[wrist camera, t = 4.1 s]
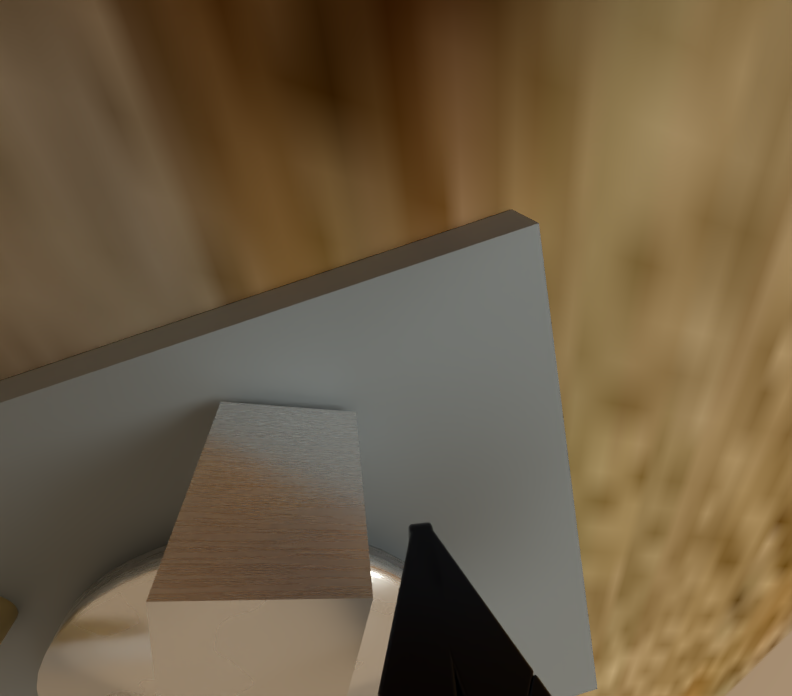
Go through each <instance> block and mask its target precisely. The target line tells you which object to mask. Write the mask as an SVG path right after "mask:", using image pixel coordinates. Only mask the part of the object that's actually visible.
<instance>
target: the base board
mask: <svg viewBox="0 0 792 696" xmlns="http://www.w3.org/2000/svg"><path fill="white" fill-rule="evenodd" d="M221 402H231V403H244V404H258V405H271V406H284V407H298V408H311V409H324V410H338V411H351V412H356V420H357V430H358V441H359V452H360V462H361V473H362V484H363V494H364V505H365V516H366V526H367V537H368V544H369V545H371V546H374V547H377V548H379V549H382V550H384V551H386V552H388V553H390V554H391V555H393V556H395V557H397V558H399V559H401V560H402V561H404V562H405V557H406V553H407V548H408V543H409V533H408V529H409V525H411V524H416V523H425V522H429V523H431V524H432V527H433V531H434V532H435V533H436V535H437V536H438V538H439V539H440V540H441V542H442V543H443V545H444V546H445V547H446V549H447V550H448V552H449V553H450V554H451V556H452V557H453V559H454V560H455V561H456V563H457V564H458V566H459V567H460V568H461V570H462V571H463V573H464V574H465V575H466V577H467V578H468V580H469V581H470V582H471V584H472V585H473V587H474V588H475V589H476V591H477V592H478V594H479V595H480V596H481V598H482V599H483V601H484V602H485V603H486V605H487V606H488V608H489V609H490V610H491V612H492V613H493V615H494V616H495V617H496V619H497V620H498V622H499V623H500V624H501V626H502V627H503V629H504V630H505V631H506V633H507V634H508V636H509V637H510V638H511V640H512V641H513V643H514V644H515V645H516V647H517V648H518V650H519V651H520V652H521V654H522V655H523V657H524V658H525V659H526V661H527V662H528V664H529V665H530V666H531V668H532V669H533V671H534V673H533V675H537V676H538V677H539V679H540V680H541V682H542V683H543V684H544V686H545V687H546V689H547V690H548V691H549V693H550V694H551V696H576V695H579V694H582V693H585V692H588V691H592V690H595V689H597V682H596V674H595V666H594V659H593V651H592V643H591V635H590V627H589V619H588V611H587V603H586V595H585V587H584V579H583V571H582V563H581V555H580V547H579V539H578V531H577V524H576V516H575V508H574V500H573V492H572V484H571V476H570V468H569V460H568V452H567V444H566V436H565V428H564V420H563V412H562V404H561V396H560V389H559V381H558V373H557V365H556V357H555V349H554V341H553V333H552V325H551V317H550V309H549V301H548V293H547V285H546V277H545V269H544V261H543V254H542V246H541V238H540V230H539V223H537V222H535V221H533V220H532V219H530V218H528V217H526V216H524V215H522V214H520V213H518V212H516V211H514V210H509V211H506V212H503V213H500V214H497V215H494V216H491V217H488V218H485V219H482V220H479V221H476V222H473V223H470V224H467V225H464V226H461V227H458V228H455V229H452V230H449V231H446V232H443V233H440V234H437V235H434V236H431V237H428V238H425V239H422V240H419V241H416V242H413V243H411V244H408V245H405V246H402V247H399V248H396V249H393V250H390V251H387V252H384V253H381V254H378V255H375V256H372V257H369V258H366V259H363V260H360V261H357V262H354V263H351V264H348V265H345V266H342V267H339V268H336V269H333V270H330V271H327V272H324V273H321V274H318V275H315V276H312V277H309V278H306V279H303V280H300V281H297V282H294V283H291V284H288V285H285V286H282V287H279V288H276V289H273V290H270V291H267V292H264V293H261V294H258V295H255V296H252V297H249V298H246V299H243V300H240V301H237V302H234V303H231V304H228V305H225V306H222V307H219V308H216V309H213V310H210V311H207V312H204V313H201V314H198V315H195V316H192V317H189V318H186V319H183V320H180V321H178V322H175V323H172V324H169V325H166V326H163V327H160V328H157V329H154V330H151V331H148V332H145V333H142V334H139V335H136V336H133V337H130V338H127V339H124V340H121V341H118V342H115V343H112V344H109V345H106V346H103V347H100V348H97V349H94V350H91V351H88V352H85V353H82V354H79V355H76V356H73V357H70V358H67V359H64V360H61V361H58V362H55V363H52V364H49V365H46V366H43V367H40V368H37V369H34V370H31V371H28V372H25V373H22V374H19V375H16V376H13V377H10V378H7V379H4V380H1V381H0V696H38V693H37V679H38V671H39V669H40V666H41V663H42V661H43V658H44V656H45V654H46V652H47V650H48V648H49V646H50V644H51V642H52V640H53V638H54V636H55V635H56V633H57V631H58V629H59V627H60V625H61V623H62V621H63V619H64V617H65V616H66V614H67V613H68V611H69V610H70V608H71V607H72V605H73V604H74V602H75V601H76V600H77V599H78V598H79V597H80V596H81V595H82V594H83V593H84V592H85V591H86V590H87V589H88V588H89V587H90V586H91V585H92V584H93V583H95V582H96V581H97V580H99V579H100V578H101V577H103V576H104V575H105V574H107V573H108V572H110V571H111V570H113V569H115V568H117V567H118V566H120V565H122V564H124V563H126V562H127V561H129V560H131V559H133V558H135V557H138V556H140V555H142V554H145V553H147V552H150V551H152V550H154V549H157V548H160V547H163V546H166V545H167V544H168V542H169V539H170V536H171V534H172V531H173V528H174V526H175V523H176V520H177V518H178V515H179V512H180V510H181V507H182V504H183V502H184V499H185V496H186V493H187V491H188V488H189V485H190V483H191V480H192V477H193V475H194V472H195V469H196V467H197V464H198V461H199V459H200V456H201V453H202V451H203V448H204V445H205V443H206V440H207V437H208V435H209V432H210V429H211V427H212V424H213V421H214V419H215V416H216V413H217V411H218V408H219V405H220V403H221Z"/></svg>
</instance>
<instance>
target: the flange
mask: <svg viewBox="0 0 792 696" xmlns="http://www.w3.org/2000/svg"><path fill="white" fill-rule="evenodd" d="M403 567H404V561H402V560H401V559H399V558H397V557H395V556H393V555H391V554H390V553H388V552H386V551H384V550H382V549H379V548H377V547H374V546H371V545H369V544H368V537H367V526H366V516H365V505H364V494H363V484H362V473H361V462H360V452H359V441H358V430H357V420H356V412H351V411H338V410H324V409H311V408H298V407H284V406H271V405H258V404H244V403H231V402H221V403H220V405H219V408H218V411H217V413H216V416H215V419H214V421H213V424H212V427H211V429H210V432H209V435H208V437H207V440H206V443H205V445H204V448H203V451H202V453H201V456H200V459H199V461H198V464H197V467H196V469H195V472H194V475H193V477H192V480H191V483H190V485H189V488H188V491H187V493H186V496H185V499H184V502H183V504H182V507H181V510H180V512H179V515H178V518H177V520H176V523H175V526H174V528H173V531H172V534H171V536H170V539H169V542H168V544H167V545H166V546H163V547H160V548H157V549H154V550H152V551H150V552H147V553H145V554H142V555H140V556H138V557H135V558H133V559H131V560H129V561H127V562H126V563H124V564H122V565H120V566H118V567H117V568H115V569H113V570H111V571H110V572H108V573H107V574H105V575H104V576H103V577H101V578H100V579H99V580H97V581H96V582H95V583H93V584H92V585H91V586H90V587H89V588H88V589H87V590H86V591H85V592H84V593H83V594H82V595H81V596H80V597H79V598H78V599H77V600H76V601H75V602H74V604H73V605H72V607H71V608H70V610H69V611H68V613H67V614H66V616H65V617H64V619H63V621H62V623H61V625H60V627H59V629H58V631H57V633H56V635H55V636H54V638H53V640H52V642H51V644H50V646H49V648H48V650H47V652H46V654H45V656H44V658H43V661H42V663H41V666H40V669H39V671H38V679H37V693H38V696H378V690H379V685H380V680H381V675H382V670H383V665H384V660H385V655H386V651H387V646H388V641H389V636H390V631H391V626H392V621H393V616H394V611H395V606H396V602H397V597H398V592H399V587H400V582H401V577H402V572H403Z"/></svg>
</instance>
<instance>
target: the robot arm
mask: <svg viewBox="0 0 792 696" xmlns="http://www.w3.org/2000/svg"><path fill="white" fill-rule="evenodd" d="M408 533H409V543H408V548H407V553H406V557H405V562H404V567H403V572H402V577H401V582H400V587H399V592H398V597H397V602H396V606H395V611H394V616H393V621H392V626H391V631H390V636H389V641H388V646H387V651H386V655H385V660H384V665H383V670H382V675H381V680H380V685H379V690H378V696H551V694H550V693H549V691H548V690H547V689H546V687H545V686H544V684H543V683H542V682H541V680H540V679H539V677H538V676H537V675H533V673H534V671H533V669H532V668H531V666H530V665H529V664H528V662H527V661H526V659H525V658H524V657H523V655H522V654H521V652H520V651H519V650H518V648H517V647H516V645H515V644H514V643H513V641H512V640H511V638H510V637H509V636H508V634H507V633H506V631H505V630H504V629H503V627H502V626H501V624H500V623H499V622H498V620H497V619H496V617H495V616H494V615H493V613H492V612H491V610H490V609H489V608H488V606H487V605H486V603H485V602H484V601H483V599H482V598H481V596H480V595H479V594H478V592H477V591H476V589H475V588H474V587H473V585H472V584H471V582H470V581H469V580H468V578H467V577H466V575H465V574H464V573H463V571H462V570H461V568H460V567H459V566H458V564H457V563H456V561H455V560H454V559H453V557H452V556H451V554H450V553H449V552H448V550H447V549H446V547H445V546H444V545H443V543H442V542H441V540H440V539H439V538H438V536H437V535H436V533H435V532H434V531H433V527H432V524H431V523H429V522H425V523H416V524H411V525H409V529H408Z"/></svg>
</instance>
